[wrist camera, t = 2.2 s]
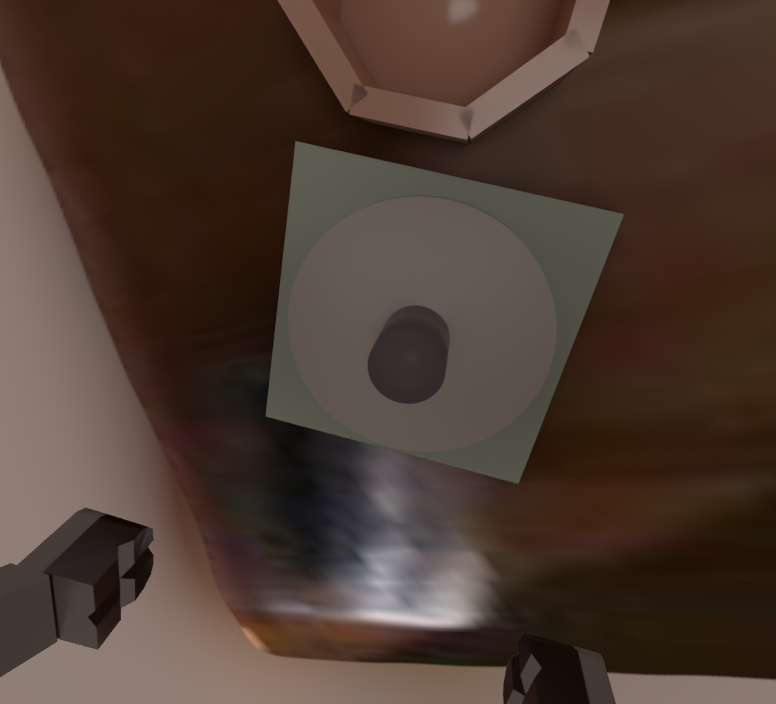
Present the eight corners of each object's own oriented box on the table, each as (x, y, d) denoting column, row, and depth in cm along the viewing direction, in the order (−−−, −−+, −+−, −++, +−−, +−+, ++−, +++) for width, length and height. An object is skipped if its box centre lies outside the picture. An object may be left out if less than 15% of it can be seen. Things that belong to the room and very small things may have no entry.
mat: (620, 212, 22) (623, 214, 22) (517, 477, 29) (518, 483, 28) (299, 141, 24) (295, 141, 23) (269, 411, 30) (265, 416, 29)
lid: (594, 230, 22) (626, 249, 18) (507, 466, 28) (514, 529, 23) (312, 167, 23) (271, 169, 19) (283, 407, 29) (245, 455, 24)
